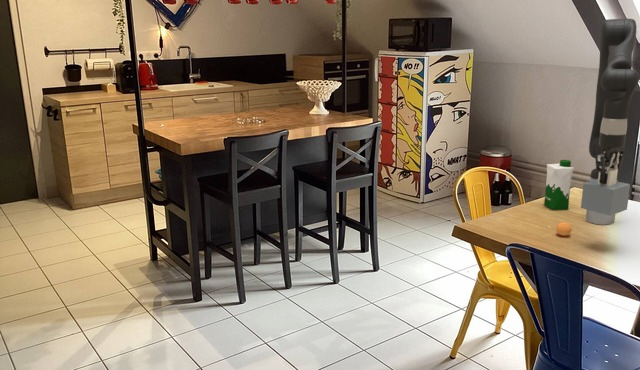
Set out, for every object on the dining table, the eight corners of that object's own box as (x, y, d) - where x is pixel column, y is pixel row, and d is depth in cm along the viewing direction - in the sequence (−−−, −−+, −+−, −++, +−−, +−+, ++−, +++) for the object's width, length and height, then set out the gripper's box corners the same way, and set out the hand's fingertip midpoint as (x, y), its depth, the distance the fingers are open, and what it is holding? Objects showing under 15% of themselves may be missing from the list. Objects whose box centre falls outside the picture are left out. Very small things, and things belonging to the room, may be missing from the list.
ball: (566, 232, 204) (567, 219, 203) (573, 237, 199) (574, 224, 198) (553, 233, 204) (554, 220, 202) (559, 238, 199) (561, 225, 197)
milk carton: (571, 210, 228) (576, 163, 222) (550, 211, 227) (555, 164, 222) (560, 203, 236) (565, 158, 231) (540, 204, 235) (544, 159, 230)
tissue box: (597, 202, 193) (602, 163, 189) (626, 209, 185) (632, 169, 181) (580, 207, 188) (585, 168, 184) (610, 215, 180) (615, 174, 176)
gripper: (613, 127, 186) (607, 176, 191) (589, 132, 178) (583, 183, 183) (636, 130, 180) (629, 181, 185) (612, 136, 172) (605, 189, 177)
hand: (606, 182), depth 184 cm, fingers closed on tissue box, 4 cm apart
